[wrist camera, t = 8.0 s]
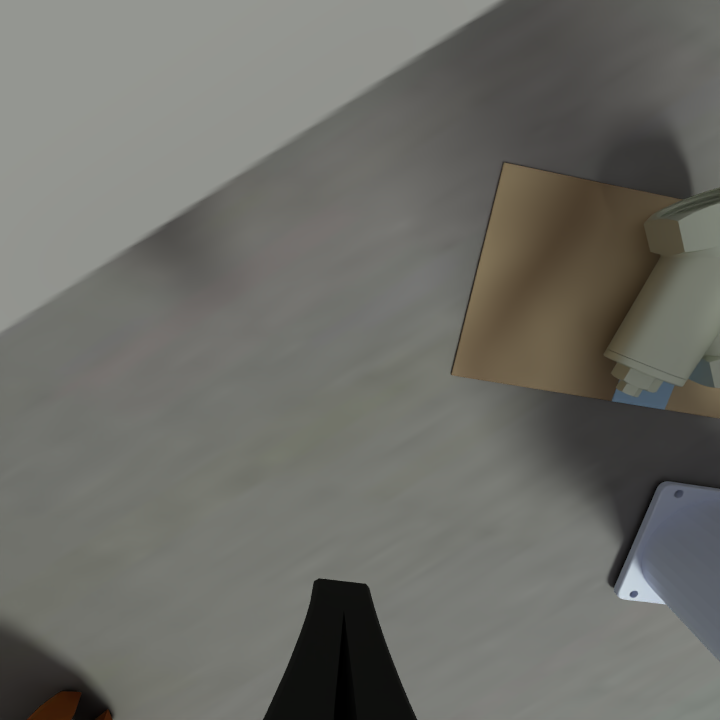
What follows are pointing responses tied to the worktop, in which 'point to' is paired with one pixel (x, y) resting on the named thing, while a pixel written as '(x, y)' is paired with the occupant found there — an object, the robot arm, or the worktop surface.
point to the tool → (62, 708)
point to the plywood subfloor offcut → (563, 289)
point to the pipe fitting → (675, 303)
